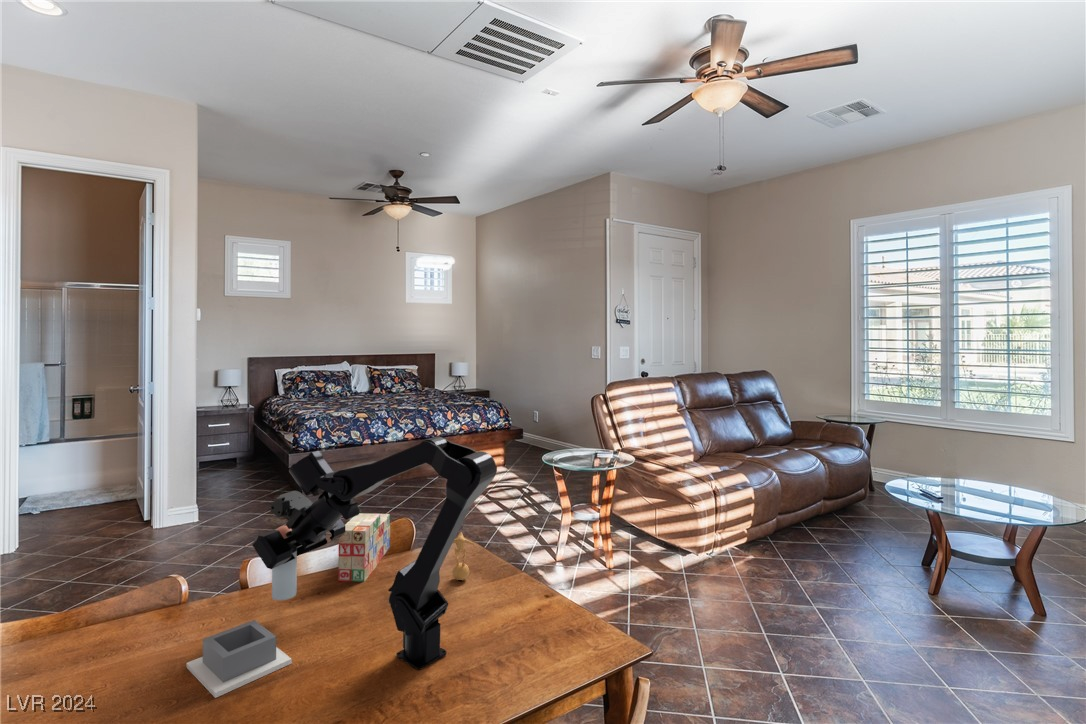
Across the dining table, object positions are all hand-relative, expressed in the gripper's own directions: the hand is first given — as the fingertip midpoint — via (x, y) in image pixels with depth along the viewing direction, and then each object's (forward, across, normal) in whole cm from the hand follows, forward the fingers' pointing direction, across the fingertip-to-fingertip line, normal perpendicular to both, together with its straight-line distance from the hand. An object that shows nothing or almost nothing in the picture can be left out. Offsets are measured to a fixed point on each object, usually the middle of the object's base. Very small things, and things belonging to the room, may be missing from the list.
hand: (279, 561), depth 107 cm
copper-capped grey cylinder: (+4, 0, +6) cm, 7 cm away
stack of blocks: (+10, -29, +7) cm, 32 cm away
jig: (+4, +14, +13) cm, 19 cm away
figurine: (-9, -29, +26) cm, 40 cm away
